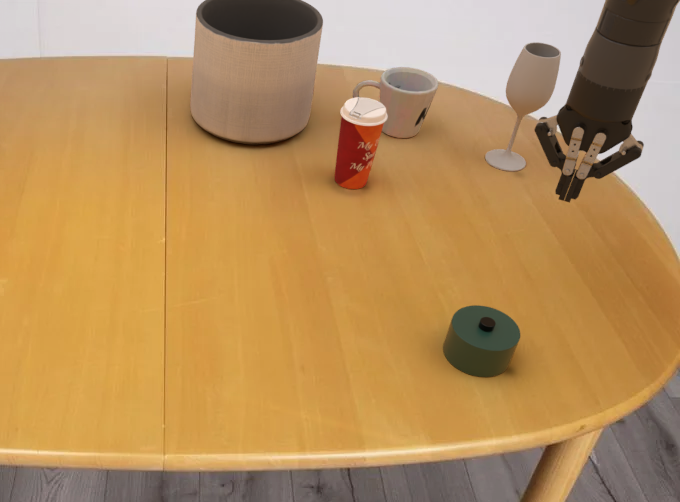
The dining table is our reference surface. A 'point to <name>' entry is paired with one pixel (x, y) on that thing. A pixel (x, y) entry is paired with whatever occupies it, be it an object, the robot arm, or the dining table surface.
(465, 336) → the tea tin
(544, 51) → the wineglass
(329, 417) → the dining table surface
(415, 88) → the mug
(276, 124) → the planter
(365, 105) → the paper cup
